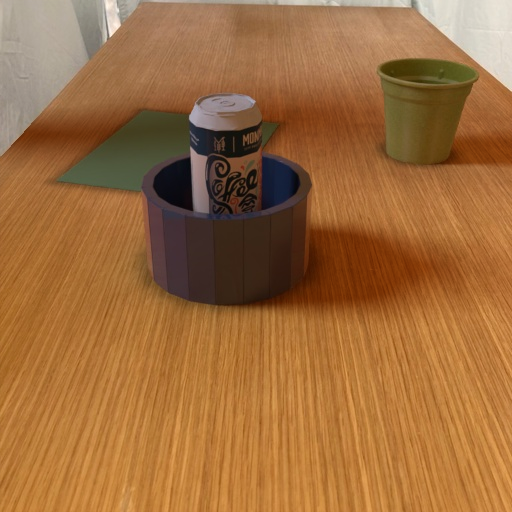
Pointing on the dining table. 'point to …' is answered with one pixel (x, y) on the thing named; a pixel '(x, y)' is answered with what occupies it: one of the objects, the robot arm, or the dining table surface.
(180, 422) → the dining table surface
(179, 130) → the mat
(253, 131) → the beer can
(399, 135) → the plant pot
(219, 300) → the pot
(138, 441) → the dining table surface
